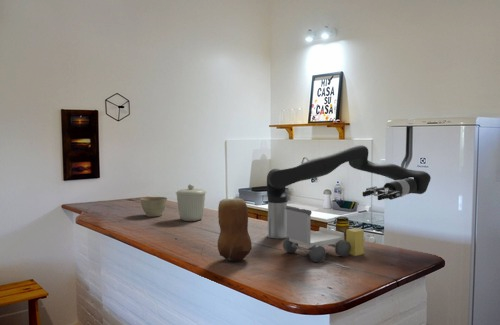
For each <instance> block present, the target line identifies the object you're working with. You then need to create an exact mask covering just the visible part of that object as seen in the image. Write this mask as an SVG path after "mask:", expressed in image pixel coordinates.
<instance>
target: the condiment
mask: <svg viewBox="0 0 500 325" xmlns="http://www.w3.org/2000/svg"><path fill="white" fill-rule="evenodd" d="M347 229H350V223H349V218H348V217H347V216H338V217H336V223H335V231H338V232H342V233H344V241H346V230H347ZM334 244H335V245H336V244H337V243H334Z"/></svg>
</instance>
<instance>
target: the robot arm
mask: <svg viewBox="0 0 500 325" xmlns="http://www.w3.org/2000/svg"><path fill="white" fill-rule="evenodd" d="M368 159H369V148H368V147H367V146H366V145H364V144H363V145H361V144H357V145H356V144H355V145H353V146H350V147H347V148H345V149H343V150H342V149H341V150H339V151H337V152H333V153H330V154H327V155H323V156H318V157H315V158H312V159H309V160H307V161H304V162H302V163H300V164H299V165H297V166H294V167H288V168H283V169H280V168H273V169H271V170H270V171H268V172H267V176H266V195H267V237H268V238H269V239H286V238H287V210H286V206H288V199H287V198H288V197H287V196H288V195H287V192H286V187H288V186H291V185H292V184H295V183H298V182H302V181H303V182H304V181H308V180H313V179H317V178H319V177H324V176H326V175H329V174H331V173H332V172H333V171H335V170H336V169H337V168H339V167H340V166H341V165H343V164H345V163H348V165H349V166H350V167H351V168H353V169H355V170H357V171H358V170H359V171H361V172H367V173H370V174H375V175H379V176H381V177H382V176H383V177H385V178H388V179H390V180H393V181H388V182H386V183H385V184H384V185H383V186H380V187H377V186H372V187H366V189H365V190H363V191H362V197H363V198H364V197H368V196H374V197H377V200H378V201H381V200H388V199H389V200H394V199H398V198H401V197H404V196H406V195H409V194H416V195H417V194H418V195H422V194H424V193H426V191H427V190H428V187H429V184H430V181H431V174H430V173H428V172H427V171H424V170H423V171H422V170H413V169H408V168H405V167H402V166H400V165H398V164H393V163H374V162H372V161H370V160H368Z"/></svg>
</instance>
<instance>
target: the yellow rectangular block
mask: <svg viewBox="0 0 500 325" xmlns="http://www.w3.org/2000/svg"><path fill="white" fill-rule="evenodd" d="M364 236H365V229H359V228H356V227H354V228H349V229H347V230H346V241H347V242H349V243H350V245H351V250H350V253H349V255H351V256H354V257H356V256H361V255H364V252H365V250H364V249H365V247H364V242H365V238H364Z"/></svg>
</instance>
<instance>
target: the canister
mask: <svg viewBox="0 0 500 325" xmlns="http://www.w3.org/2000/svg"><path fill="white" fill-rule="evenodd" d="M206 194H207V191H206V190H204V189H201V188H195V186H194V184H192V183H191V184H188V185H187V188H183V189H178V190H177V191H175V195H176V200H177V207H178V209H177V210H178V215H179V218H180V220H182V221H183V222H196V221H200V220H202V218H203V217H204V210H205V201H206Z"/></svg>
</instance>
